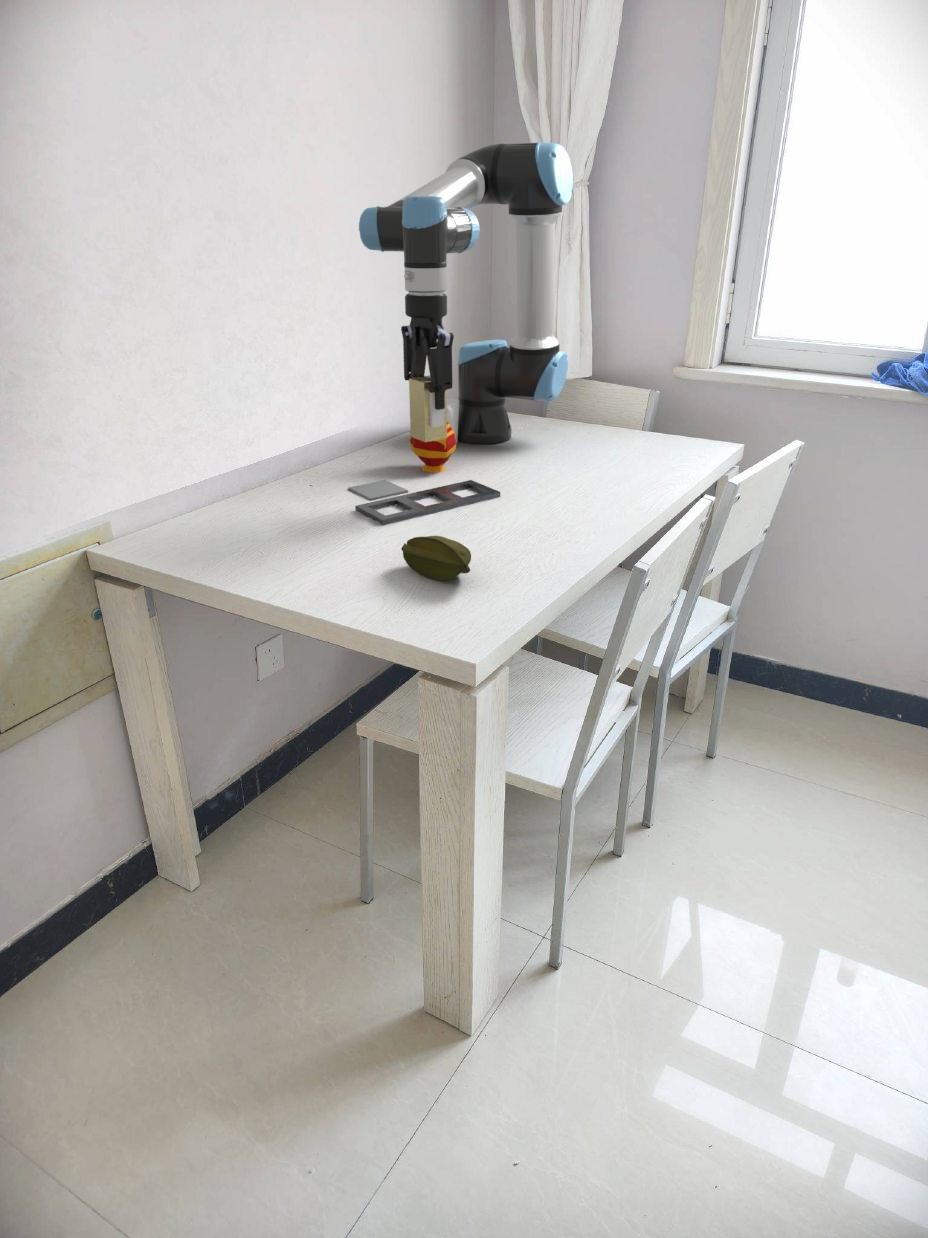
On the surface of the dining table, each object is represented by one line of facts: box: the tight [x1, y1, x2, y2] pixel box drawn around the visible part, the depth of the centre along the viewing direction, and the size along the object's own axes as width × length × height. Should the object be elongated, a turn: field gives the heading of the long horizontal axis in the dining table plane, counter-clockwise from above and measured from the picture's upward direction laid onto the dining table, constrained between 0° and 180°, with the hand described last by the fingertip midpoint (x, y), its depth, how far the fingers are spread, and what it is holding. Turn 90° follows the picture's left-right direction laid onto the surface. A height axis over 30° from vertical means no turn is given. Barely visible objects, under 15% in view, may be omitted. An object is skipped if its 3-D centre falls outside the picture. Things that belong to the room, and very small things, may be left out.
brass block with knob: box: [408, 374, 448, 442], centre depth 160 cm, size 5×5×11 cm
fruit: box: [401, 535, 472, 581], centre depth 135 cm, size 11×12×7 cm
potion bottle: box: [408, 422, 457, 473], centre depth 187 cm, size 10×10×15 cm
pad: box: [347, 479, 409, 501], centre depth 176 cm, size 9×9×1 cm
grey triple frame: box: [354, 479, 501, 526], centre depth 169 cm, size 10×28×1 cm, turn 127°
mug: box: [447, 397, 459, 445], centre depth 207 cm, size 11×9×10 cm
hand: (428, 422), depth 162 cm, fingers closed on brass block with knob, 5 cm apart
